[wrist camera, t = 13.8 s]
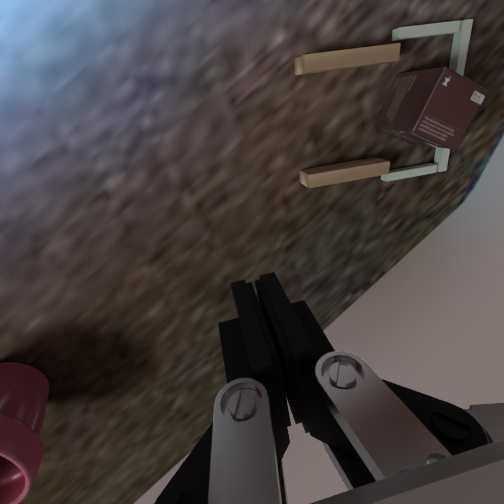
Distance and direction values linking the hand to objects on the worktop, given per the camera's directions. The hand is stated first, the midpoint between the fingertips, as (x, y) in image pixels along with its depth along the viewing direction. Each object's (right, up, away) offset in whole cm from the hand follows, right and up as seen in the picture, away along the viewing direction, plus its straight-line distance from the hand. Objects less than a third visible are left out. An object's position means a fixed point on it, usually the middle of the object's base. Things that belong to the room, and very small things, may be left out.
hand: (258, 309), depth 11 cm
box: (+18, +19, +25) cm, 36 cm away
